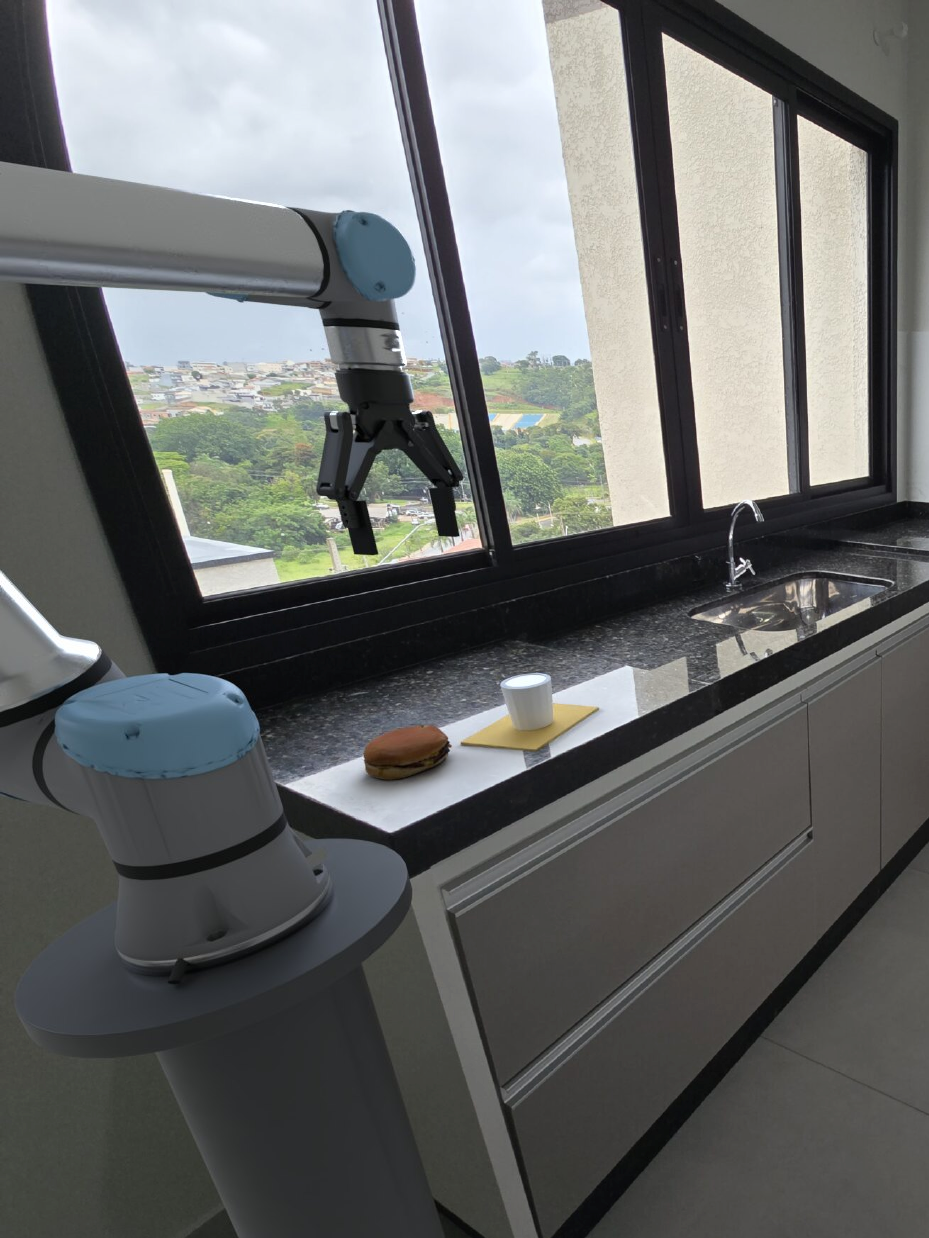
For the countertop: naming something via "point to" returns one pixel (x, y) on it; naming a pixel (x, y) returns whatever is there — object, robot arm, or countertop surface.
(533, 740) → the cloth
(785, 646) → the countertop surface
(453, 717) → the countertop surface
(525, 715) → the shot glass
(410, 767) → the burger
